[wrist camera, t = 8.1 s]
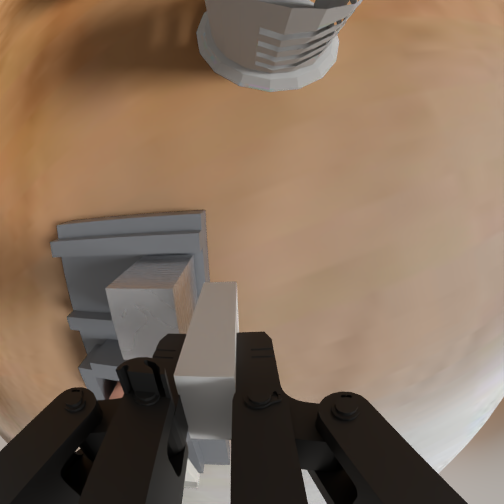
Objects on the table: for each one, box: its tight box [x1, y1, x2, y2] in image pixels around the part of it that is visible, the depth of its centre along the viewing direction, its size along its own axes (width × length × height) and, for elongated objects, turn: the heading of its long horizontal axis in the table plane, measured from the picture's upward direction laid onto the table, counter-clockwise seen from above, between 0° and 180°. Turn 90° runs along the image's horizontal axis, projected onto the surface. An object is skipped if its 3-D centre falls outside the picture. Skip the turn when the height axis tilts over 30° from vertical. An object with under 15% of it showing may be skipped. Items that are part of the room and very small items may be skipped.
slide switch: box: [105, 254, 198, 360], centre depth 13 cm, size 3×4×5 cm
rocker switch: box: [184, 459, 199, 489], centre depth 16 cm, size 4×6×2 cm
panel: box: [50, 210, 230, 473], centre depth 17 cm, size 10×24×5 cm, turn 1°
